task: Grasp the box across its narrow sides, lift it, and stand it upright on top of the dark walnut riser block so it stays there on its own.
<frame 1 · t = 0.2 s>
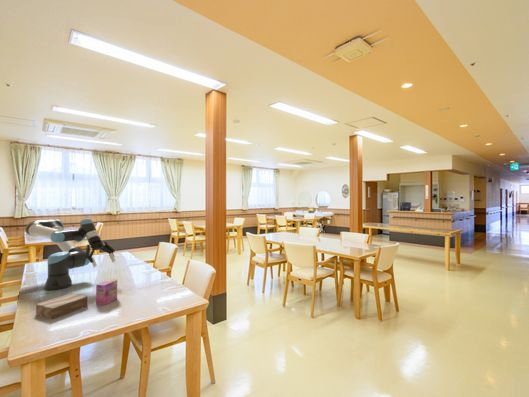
hand: (105, 263, 186), 16 cm above the table, tool tilted 35°, fingers open, 13 cm apart
riser: (62, 310, 146), on the table
box: (107, 301, 158), on the table
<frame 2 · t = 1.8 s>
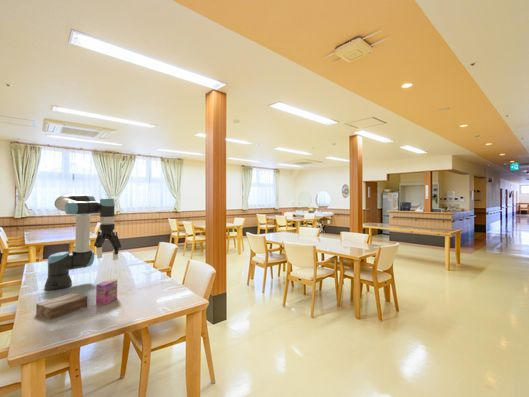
hand: (107, 259, 159), 25 cm above the table, tool pointing down, fingers open, 13 cm apart
nothing on the table moved.
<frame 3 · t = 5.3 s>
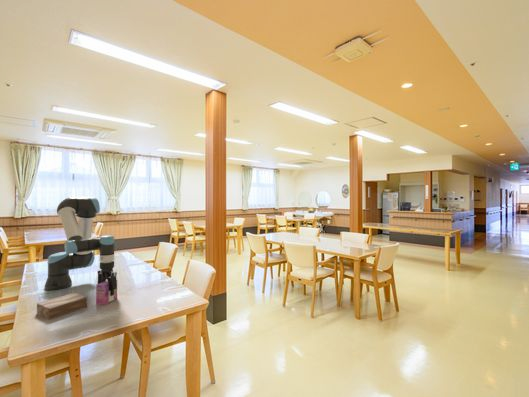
hand: (106, 299, 158), 1 cm above the table, tool pointing down, fingers closed on box, 6 cm apart
box: (107, 301, 158), on the table, touching gripper
everything else where it was.
when the fingers open (8 cm above the table, at t = 12.0 s): box drops 2 cm, resting on riser.
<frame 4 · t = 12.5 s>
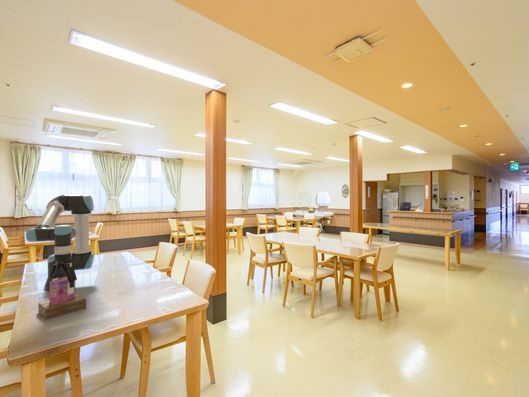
hand: (62, 291, 146), 10 cm above the table, tool pointing down, fingers open, 13 cm apart
riser: (62, 311, 146), on the table, touching box
box: (62, 300, 146), point 5 cm above the table, touching riser
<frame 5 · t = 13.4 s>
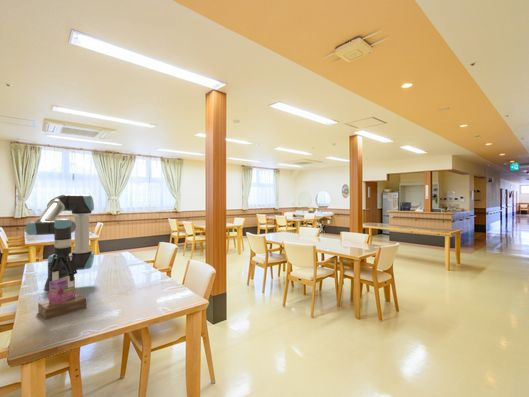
hand: (63, 285, 146), 14 cm above the table, tool pointing down, fingers open, 13 cm apart
nothing on the table moved.
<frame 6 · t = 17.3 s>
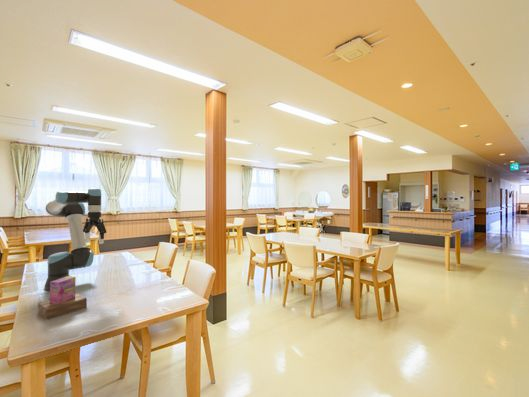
hand: (94, 243, 178), 32 cm above the table, tool pointing down, fingers open, 13 cm apart
nothing on the table moved.
at the end: box inside the target area on the riser (0.0 cm from its centre), point 5.8 cm above the riser's base; box tilted 1°; the gripper is holding nothing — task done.
